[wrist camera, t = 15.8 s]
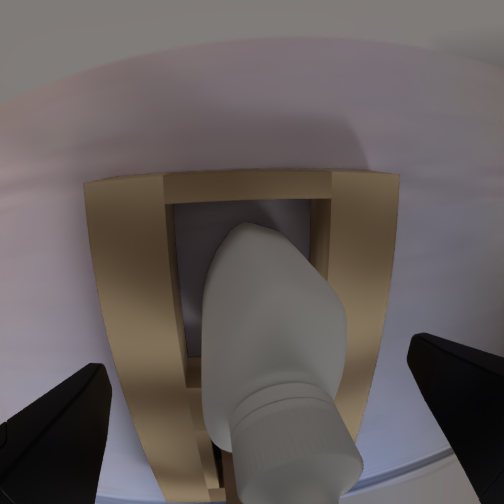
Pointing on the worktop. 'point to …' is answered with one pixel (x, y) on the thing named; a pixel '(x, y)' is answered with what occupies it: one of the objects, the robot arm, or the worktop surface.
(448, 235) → the worktop surface
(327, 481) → the eye dropper bottle
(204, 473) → the socket board
